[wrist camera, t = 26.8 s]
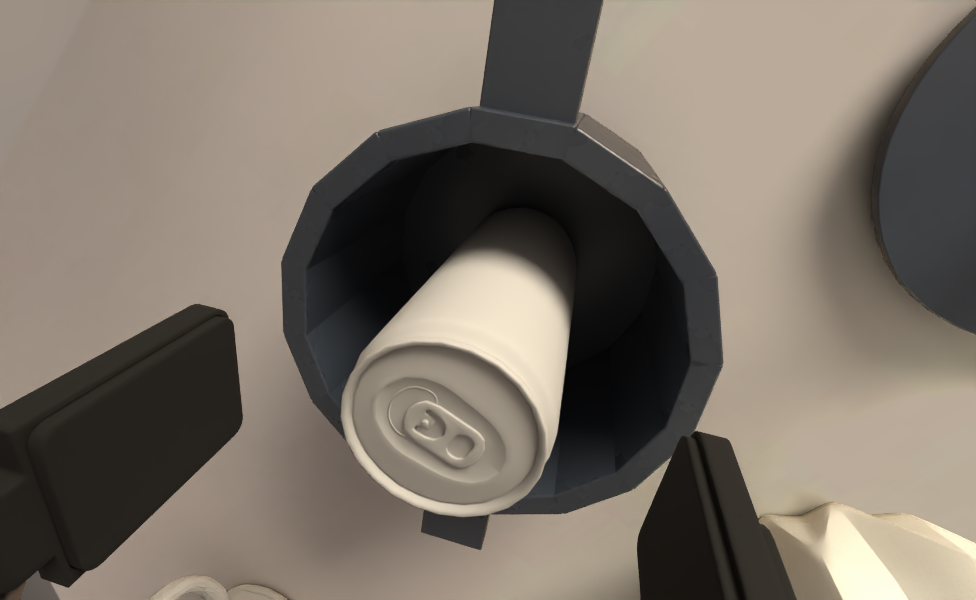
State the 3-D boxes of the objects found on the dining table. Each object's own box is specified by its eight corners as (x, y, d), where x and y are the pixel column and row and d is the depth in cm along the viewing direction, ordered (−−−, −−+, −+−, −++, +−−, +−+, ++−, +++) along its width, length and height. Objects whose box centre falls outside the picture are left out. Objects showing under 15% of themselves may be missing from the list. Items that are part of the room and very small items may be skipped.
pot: (379, 386, 26) (288, 509, 18) (407, 3, 18) (270, -62, 11) (611, 448, 24) (617, 611, 17) (747, 56, 17) (872, 24, 9)
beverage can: (508, 180, 20) (396, 285, 9) (602, 248, 20) (605, 431, 9) (449, 268, 22) (301, 440, 11) (535, 329, 22) (473, 554, 11)
